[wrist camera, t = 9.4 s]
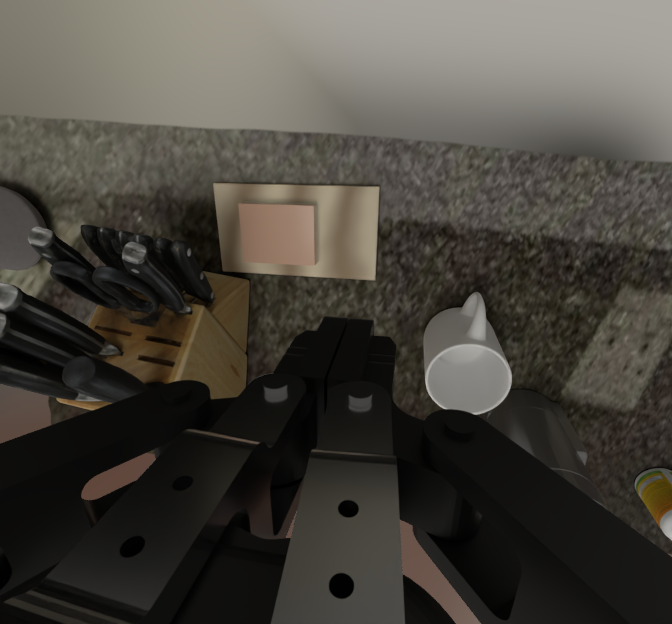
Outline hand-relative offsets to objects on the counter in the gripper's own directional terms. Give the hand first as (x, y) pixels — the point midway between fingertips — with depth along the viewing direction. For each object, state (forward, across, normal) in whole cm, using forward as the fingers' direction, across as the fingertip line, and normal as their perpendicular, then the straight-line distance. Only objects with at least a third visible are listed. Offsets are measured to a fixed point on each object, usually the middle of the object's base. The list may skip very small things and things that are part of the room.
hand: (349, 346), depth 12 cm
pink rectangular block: (+35, +9, +4) cm, 36 cm away
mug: (+37, -9, +15) cm, 41 cm away
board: (+37, +12, +4) cm, 39 cm away
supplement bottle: (+37, -37, +36) cm, 64 cm away
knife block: (+37, +25, +18) cm, 48 cm away
